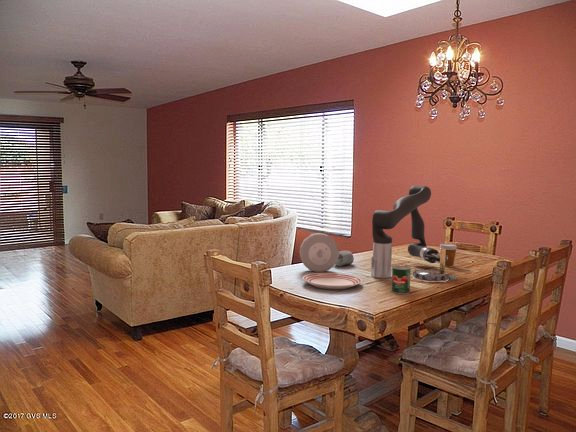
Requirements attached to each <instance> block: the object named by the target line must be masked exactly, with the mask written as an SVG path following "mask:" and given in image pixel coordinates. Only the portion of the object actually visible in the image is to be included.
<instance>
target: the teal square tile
mask: <svg viewBox="0 0 576 432" xmlns="http://www.w3.org/2000/svg"><path fill="white" fill-rule="evenodd" d="M449 278H450V279H449V280H457V276H455V275H449Z"/></svg>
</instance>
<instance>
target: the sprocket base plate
mask: <svg viewBox="0 0 576 432" xmlns="http://www.w3.org/2000/svg"><path fill="white" fill-rule="evenodd" d="M412 279H413V280H415V281H417V280H418V282H422V281H423V282H422V283H428V282H444V283H447V282H446V281H448V280H450V279H447V280H445V281H444V280H441V281H436V280H432V281H427V280H425V279H423V280H421V279H419V278H415V277H414V276H413V275H412ZM448 282H449V281H448Z"/></svg>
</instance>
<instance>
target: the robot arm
mask: <svg viewBox="0 0 576 432" xmlns="http://www.w3.org/2000/svg"><path fill="white" fill-rule="evenodd" d="M431 197H432V191H431V188H429V186H427V185H426V186H425V185H412V186H410V187H409V190H408V195H405V196H402V197H400V198H399V199H397V200H396V201H395V202H394V204H393V206H392V207H393V208H392V210H385V209H384V210H381V209H378V210H375V211H374V212H373V213H372V217H371V219H372V221H371V223H372V224H371V225H372V227H371V228H372V231H371V232H372V234H371V235H372V240H373V241H372V244H373V245H372V256H371V266H370V267H371V268H370V269H371V271H370V276H372V277H373V278H378V279H389V278H392V254H393V253H392V252H393V251H392V250H393V238H392V237H391V235H389V234H388V233H386V232H385V230H392V229H394V228H395V227H396V226H397V225H398V224H399V222H401V221H402V220H403V219H404V218H405V217H406V216H408V215H410V218H411V219H410V220H411V239H414V240H418V242H413V243H410V244H409V245H408V246H407V252H408V254H409V255H410V256H412V257H417V258H420V259H423V260H424V261H426V262H427V263H429V264H435V263H440V251H438V250H437V249H436V248H433V247H431V246H427V242H426V238H425V222H424V219H423V217H422V216H421V214H420V212H419V210H418V207H420V206H422V205H424V204H426V203H428V202H429V200H430V199H431ZM447 260H448V255H445V262H446V261H447Z"/></svg>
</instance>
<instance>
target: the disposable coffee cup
mask: <svg viewBox="0 0 576 432" xmlns="http://www.w3.org/2000/svg"><path fill="white" fill-rule="evenodd" d="M438 247H439V250H440V251H441V248H443V249H446V254H445V255H448V260H447V261H446V262H445V266H453V267H454V265H455V264H454V263H455V259H456V258H455V257H456V251H457V249H458V247H457V244H453V243H440V244H439V246H438ZM440 251H439V252H440Z"/></svg>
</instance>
